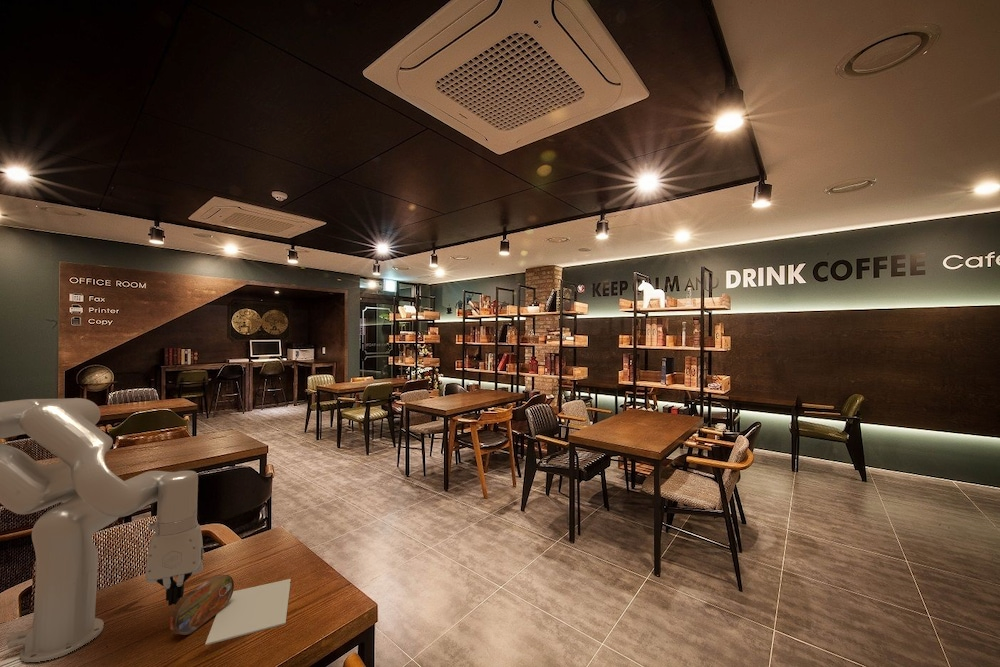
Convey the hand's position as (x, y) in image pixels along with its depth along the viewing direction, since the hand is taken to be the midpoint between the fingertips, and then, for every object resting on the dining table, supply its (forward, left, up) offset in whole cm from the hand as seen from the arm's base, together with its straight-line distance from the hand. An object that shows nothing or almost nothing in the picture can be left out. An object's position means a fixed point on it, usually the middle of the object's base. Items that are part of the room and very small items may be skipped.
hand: (174, 601), depth 92 cm
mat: (+16, 0, -6) cm, 18 cm away
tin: (+6, 0, -6) cm, 9 cm away
